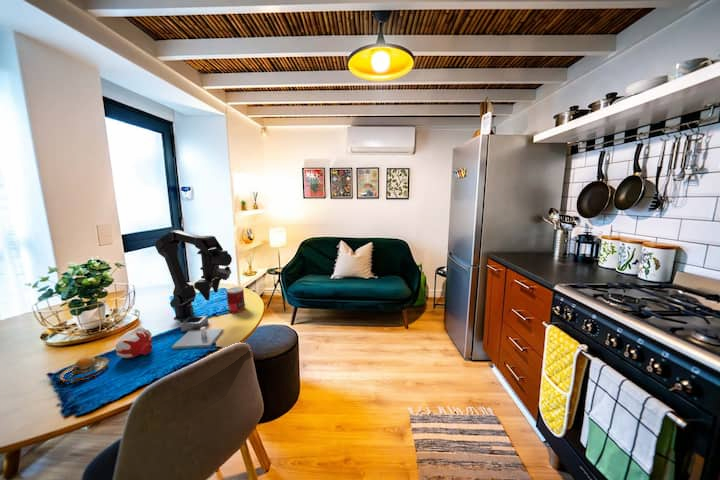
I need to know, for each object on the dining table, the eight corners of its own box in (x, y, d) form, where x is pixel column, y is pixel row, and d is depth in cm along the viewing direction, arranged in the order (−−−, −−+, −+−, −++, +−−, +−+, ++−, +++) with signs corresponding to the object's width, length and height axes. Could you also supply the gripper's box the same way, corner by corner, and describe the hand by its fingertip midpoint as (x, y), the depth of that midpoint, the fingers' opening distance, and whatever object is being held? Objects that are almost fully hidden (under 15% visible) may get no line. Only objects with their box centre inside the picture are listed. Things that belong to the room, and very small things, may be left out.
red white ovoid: (140, 341, 104) (166, 352, 100) (105, 357, 94) (133, 370, 89) (139, 320, 102) (165, 331, 98) (103, 334, 92) (131, 347, 87)
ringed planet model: (108, 357, 95) (104, 338, 94) (113, 371, 87) (109, 351, 86) (58, 374, 86) (53, 354, 85) (59, 391, 78) (54, 369, 77)
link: (181, 331, 112) (180, 324, 112) (190, 323, 119) (189, 316, 119) (200, 330, 113) (199, 323, 113) (208, 322, 120) (207, 315, 119)
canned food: (240, 312, 130) (239, 292, 128) (225, 312, 130) (223, 292, 128) (247, 306, 138) (246, 287, 136) (232, 306, 138) (231, 286, 136)
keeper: (172, 349, 100) (170, 337, 99) (189, 332, 111) (187, 322, 110) (210, 346, 101) (209, 335, 100) (223, 331, 113) (222, 320, 112)
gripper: (220, 269, 109) (222, 304, 111) (234, 258, 127) (236, 288, 130) (191, 270, 107) (195, 305, 110) (210, 258, 125) (213, 289, 128)
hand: (212, 296), depth 119 cm, fingers open, 9 cm apart
